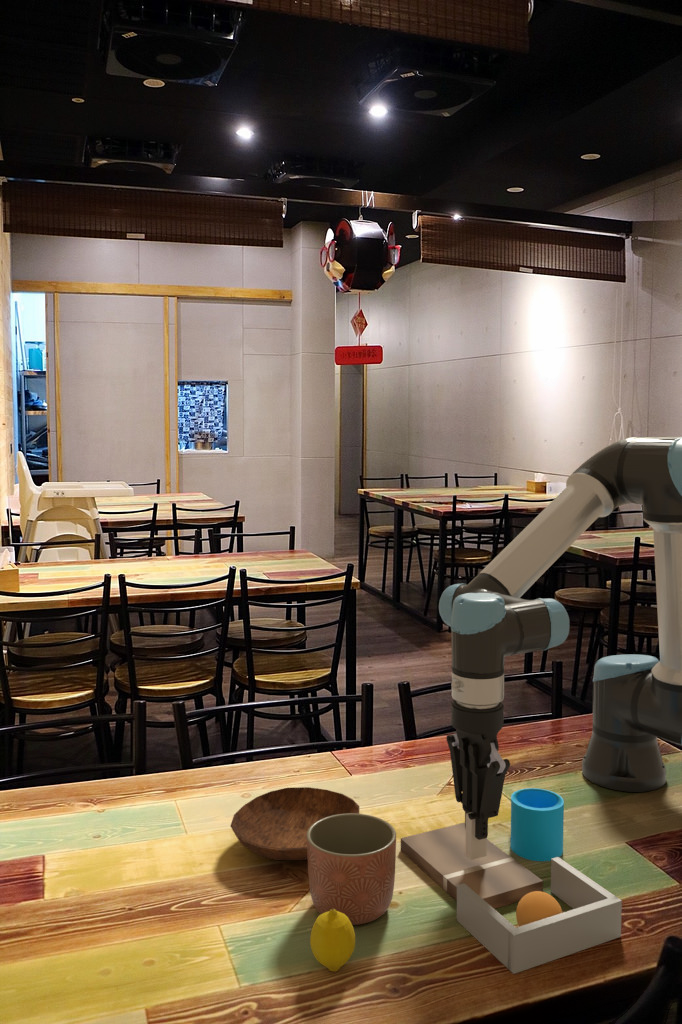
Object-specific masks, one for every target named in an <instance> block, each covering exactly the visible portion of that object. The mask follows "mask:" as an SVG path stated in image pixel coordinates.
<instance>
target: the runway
mask: <svg viewBox="0 0 682 1024" xmlns="http://www.w3.org/2000/svg"><path fill="white" fill-rule="evenodd" d="M400 851H401V853H403V854H404V855H405V856H406V857H407V858H408V859H409V860H410V861H412V862H413V863H414V864H415V865H416V866H417V867H418V868H420V869H421V871H422V872H424V873H425V874H426V875H427V876H428V877H429V878H431V879H432V880H433V881H434V882H435V883H436V884H437V885H438V886H440V888H442V890H444V891H445V892H446V893H447V894H448V895H449V896H450V897H452V898H453V900H455V901H456V902H457V885H460V884H463V883H465V884H466V885H467V886H468V887H469V888H470V889H472V890H473V891H474V892H475V893H476V894H477V895H479V896H480V897H481V898H482V899H483V900H484V901H486V902H487V903H488V904H489V905H490V906H491V907H493V908H494V909H495V910H496V909H500V908H502V907H506V906H508V905H511V904H516V903H519V901H520V900H521V899H522V897H523V896H525V895H526V894H528V893H530V892H534V891H541V892H544V880H543V879H542V878H540V877H538V876H537V875H536V874H534V873H533V872H532V871H531V870H530V869H528V868H526V867H525V866H524V865H522V864H521V863H520V862H519V861H517V860H515V859H514V857H512V856H510V855H509V854H508V853H506V851H504V850H503V849H501V848H499V847H498V845H497V844H496V845H495V844H494V843H493V842H492V841H490V840H489V839H487V856H484V857H481V858H477V859H473V860H471V859H469V858H468V857H467V856H466V829H465V821H464V822H461V823H457V824H453V825H449V826H445V827H440V828H438V829H437V828H436V829H432V830H429V831H425V832H421V833H416V834H412V835H408V836H404V837H401V838H400Z"/></svg>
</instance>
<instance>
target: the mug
mask: <svg viewBox="0 0 682 1024" xmlns="http://www.w3.org/2000/svg"><path fill="white" fill-rule="evenodd" d="M564 801H565V800H564V798H563V797H562V796H561V795H560V794H559V793H557V792H555V791H551V790H550V789H549V790H548V789H544V788H540V787H539V788H536V787H525V788H521V789H517V790H516V791H513V793H512V794H511V796H510V850H511V851H512V852H513V853H514V854H515V855H517V856H518V857H521V859H522V858H523V859H525V860H529V861H533V862H551V859H552V858H555V857H559V858H561V856H562V855H563V853H564V826H565V825H564V820H565V817H564V815H565V802H564Z"/></svg>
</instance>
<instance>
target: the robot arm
mask: <svg viewBox="0 0 682 1024" xmlns="http://www.w3.org/2000/svg"><path fill="white" fill-rule="evenodd" d="M565 485H566V486H565V488H564V489H563V490H562V491H561V492H560V493H559V494H558V495H556V497H555V498H554V499H553V500H552V501H551V502H550V503H549V504H548V505H547V506H545V508H544V509H542V511H541V512H539V514H538V515H537V516H536V517H535V518H534V519H532V521H531V522H530V523H529V524H527V526H526V527H524V528H523V530H522V531H520V532H519V534H517V536H516V537H514V538H513V539H512V541H511V542H509V543H508V544H507V546H505V548H503V549H502V550H501V551H500V552H499V553H498V554H497V555H496V556H495V557H494V558H493V559H492V560H491V561H490V562H489V563H488V564H487V565H486V566H485V567H484V568H483V569H482V570H481V571H479V573H478V574H477V575H476V576H475V577H474V578H473V579H472V580H471V581H470V582H469V583H468V584H467V583H455V584H452V585H449V586H447V587H446V588H445V589H444V591H443V592H442V593H441V596H440V598H439V603H438V612H439V616H440V617H441V620H442V621H443V622H444V624H445V625H447V626H448V627H450V632H451V635H450V637H451V638H450V639H451V640H450V641H451V645H450V646H451V683H450V685H451V698H452V699H453V700H452V702H450V703H451V705H450V707H451V710H450V712H451V714H450V716H451V717H450V719H451V720H450V723H451V726H452V727H453V728H454V729H455V730H456V731H455V733H454V734H447V735H446V738H445V739H446V742H447V746H448V750H449V754H450V762H451V771H452V777H453V779H452V780H453V786H454V787H453V788H454V794H455V795H454V797H455V800H456V802H457V803H461V804H462V810H463V811H464V822H465V829H466V856H467V857H468V858H469V859H471V860H473V859H477V858H481V857H484V856H487V840H488V836H489V835H488V834H489V832H488V831H489V819H491V818H495V817H498V816H499V812H500V806H501V801H502V796H503V795H502V794H503V789H504V784H505V777H506V773H508V770H509V768H510V766H511V763H510V760H509V759H508V758H502V756H501V754H500V753H499V749H500V748H499V747H500V745H499V742H498V737H497V736H498V733H499V732H500V731H501V730H502V729H503V727H504V713H505V712H504V704H503V702H502V701H504V698H505V659H506V658H505V657H511V656H516V655H522V654H526V653H534V652H539V651H547V650H548V649H552V648H554V647H558V646H560V645H562V644H563V643H564V642H565V641H566V640H567V638H568V636H569V634H570V626H571V625H570V617H569V614H568V612H567V610H566V608H565V606H564V605H563V604H562V603H561V602H559V601H558V600H556V599H554V598H549V597H548V598H541V597H538V598H536V599H524V598H521V597H522V596H523V595H524V594H525V593H526V592H527V591H528V590H529V589H530V588H531V587H532V586H533V585H534V584H535V582H537V581H538V579H540V577H542V575H544V574H545V572H546V571H547V570H548V569H549V568H550V567H551V566H553V564H554V563H555V562H556V561H558V559H559V558H560V557H561V556H562V555H563V554H564V553H566V551H567V550H568V549H569V548H570V547H571V546H572V545H573V544H574V543H575V541H576V540H578V539H579V537H580V536H581V535H582V534H583V533H585V531H586V530H587V529H588V528H589V527H591V525H592V524H593V523H594V522H595V521H597V520H598V519H599V518H605V517H607V516H609V515H611V514H612V513H613V511H614V510H615V509H617V508H618V507H620V506H623V505H628V504H637V505H642V519H643V521H644V522H645V523H646V524H648V525H649V526H650V527H651V529H652V531H653V548H654V569H655V586H656V587H655V589H656V590H655V591H656V608H657V625H658V628H657V629H658V646H659V647H658V648H659V659H658V658H657V657H656V656H652V655H648V654H635V653H634V654H626V653H625V654H616V655H615V654H614V655H608V656H603V657H601V658H600V659H598V660H597V661H595V664H594V671H593V678H592V733H591V736H590V738H589V741H588V745H587V748H586V753H585V754H584V755H583V757H582V762H581V763H582V764H581V765H582V767H581V769H582V770H581V773H582V775H583V776H584V777H585V779H587V780H588V781H589V782H591V783H592V784H595V785H598V786H600V787H603V788H606V789H610V790H614V791H620V792H630V793H643V792H645V793H646V792H650V791H651V792H652V791H655V790H658V789H660V788H662V787H663V786H665V784H666V782H667V769H666V765H665V764H664V762H663V756H662V753H661V749H660V746H659V743H658V738H659V739H662V740H664V741H667V742H670V743H673V744H676V745H678V746H681V747H682V436H665V437H664V436H663V437H662V436H661V437H659V436H654V437H653V436H651V437H645V436H633V437H632V436H631V437H627V438H623V439H621V440H618V441H615V442H613V443H611V444H609V445H607V446H606V447H604V448H602V449H601V450H599V451H598V452H596V453H594V455H592V456H591V457H589V458H588V459H587V460H585V461H584V462H582V464H581V465H579V467H577V468H576V469H575V470H574V471H573V472H572V473H571V474H570V475H569V476H568V477H567V479H566V483H565Z"/></svg>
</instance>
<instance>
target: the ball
mask: <svg viewBox="0 0 682 1024" xmlns="http://www.w3.org/2000/svg"><path fill="white" fill-rule="evenodd" d="M560 913H564V911H563V909H562V907H561V904H560V903H559V902H558V901H557V900H556V898H555V897H553V895H552V894H549V893H547V892H544V891H543V892H541V891H534V892H530V893H528V894H526V895H525V896H523V897H522V899H521V900H520V901H519V902H517V906H516V911H515V916H516V917H515V918H516V922H517V925H518V927H520V926H523V925H526V924H529V923H532V922H535V921H538V920H542V919H545V918H548V917H551V916H554V915H557V914H560Z"/></svg>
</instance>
